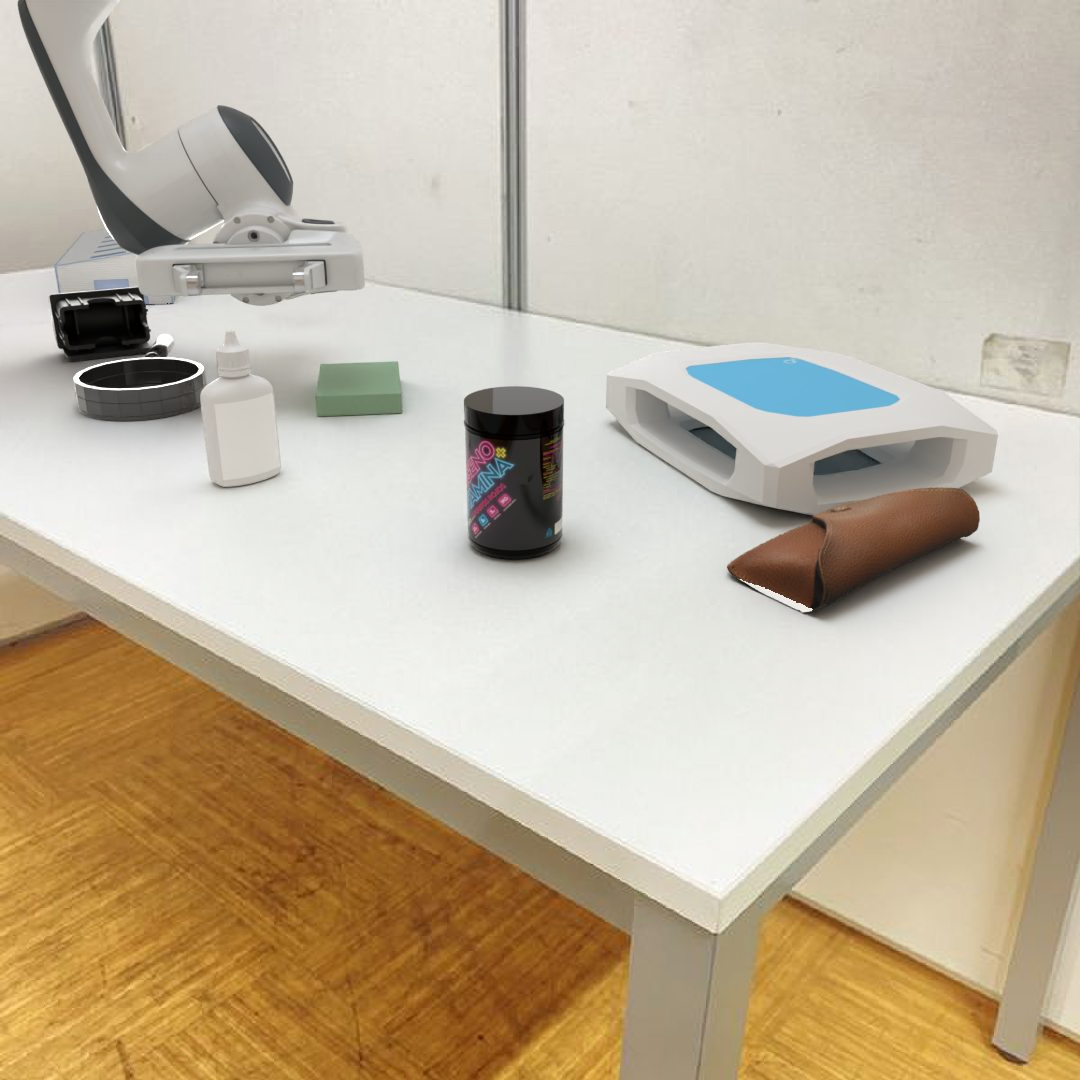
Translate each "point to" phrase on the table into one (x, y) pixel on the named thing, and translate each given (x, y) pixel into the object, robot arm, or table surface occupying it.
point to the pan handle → (161, 347)
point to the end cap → (100, 323)
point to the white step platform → (797, 424)
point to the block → (358, 389)
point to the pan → (139, 388)
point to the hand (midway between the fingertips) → (245, 284)
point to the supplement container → (514, 470)
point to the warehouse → (99, 266)
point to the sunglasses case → (857, 543)
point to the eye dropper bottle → (239, 420)
